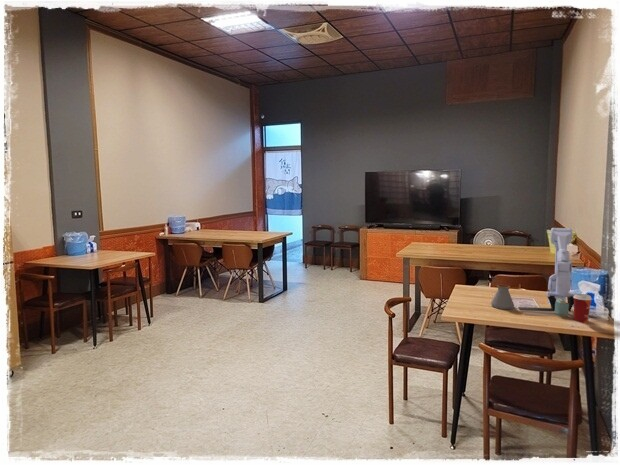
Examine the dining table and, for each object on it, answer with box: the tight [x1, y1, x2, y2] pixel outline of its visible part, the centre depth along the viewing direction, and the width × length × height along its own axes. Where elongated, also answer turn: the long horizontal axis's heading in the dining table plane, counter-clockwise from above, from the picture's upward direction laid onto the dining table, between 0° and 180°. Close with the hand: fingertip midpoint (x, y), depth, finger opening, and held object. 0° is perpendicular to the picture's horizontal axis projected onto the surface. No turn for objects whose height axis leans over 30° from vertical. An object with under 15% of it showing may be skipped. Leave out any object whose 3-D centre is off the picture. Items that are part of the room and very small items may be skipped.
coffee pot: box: [490, 276, 515, 310], centre depth 236 cm, size 21×12×15 cm, turn 178°
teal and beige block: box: [554, 299, 569, 315], centre depth 219 cm, size 7×4×7 cm, turn 172°
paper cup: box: [573, 293, 593, 324], centre depth 208 cm, size 8×8×14 cm
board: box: [517, 306, 574, 318], centre depth 220 cm, size 11×23×3 cm, turn 82°
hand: (560, 310), depth 220 cm, fingers open, 7 cm apart
